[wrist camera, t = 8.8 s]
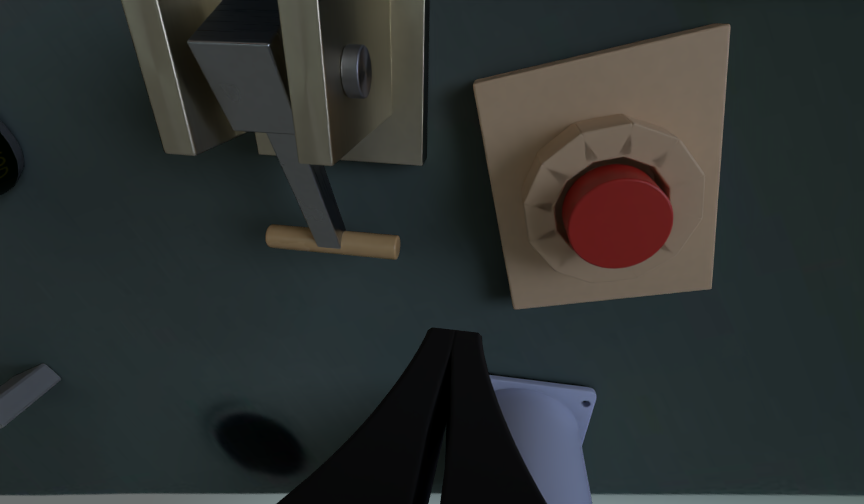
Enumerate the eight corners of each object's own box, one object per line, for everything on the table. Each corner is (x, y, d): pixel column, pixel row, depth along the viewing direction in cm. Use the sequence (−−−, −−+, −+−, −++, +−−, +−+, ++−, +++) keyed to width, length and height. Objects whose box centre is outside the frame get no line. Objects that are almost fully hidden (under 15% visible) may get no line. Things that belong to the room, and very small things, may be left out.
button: (658, 241, 17) (673, 263, 16) (565, 253, 18) (571, 275, 16) (658, 154, 15) (675, 169, 14) (557, 172, 16) (562, 188, 15)
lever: (404, 233, 20) (394, 276, 19) (283, 222, 21) (265, 264, 19) (366, -2, 11) (344, 47, 10) (162, -7, 12) (115, 38, 11)
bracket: (426, 158, 19) (382, 240, 12) (270, 147, 20) (144, 218, 13) (431, -75, 15) (367, -158, 8) (234, -76, 16) (20, -152, 9)
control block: (701, 276, 20) (731, 313, 18) (513, 297, 22) (514, 333, 20) (716, 22, 15) (759, 23, 13) (474, 80, 18) (469, 90, 15)
